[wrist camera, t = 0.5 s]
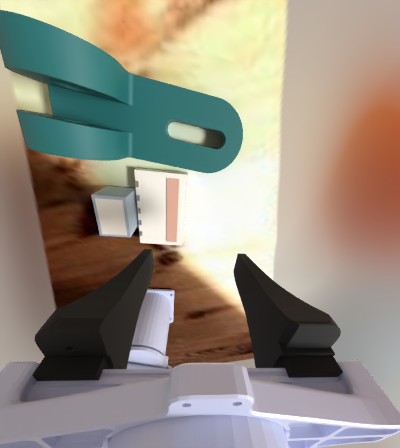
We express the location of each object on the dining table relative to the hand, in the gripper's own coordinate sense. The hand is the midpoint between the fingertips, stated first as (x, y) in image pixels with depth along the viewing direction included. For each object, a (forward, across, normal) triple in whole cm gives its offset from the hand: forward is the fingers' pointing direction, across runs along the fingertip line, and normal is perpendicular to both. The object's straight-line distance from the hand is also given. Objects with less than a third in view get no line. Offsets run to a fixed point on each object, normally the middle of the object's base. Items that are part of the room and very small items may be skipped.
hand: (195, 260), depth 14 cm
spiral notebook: (+10, +4, 0) cm, 11 cm away
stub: (+10, +9, 0) cm, 14 cm away
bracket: (+10, +5, -10) cm, 15 cm away
